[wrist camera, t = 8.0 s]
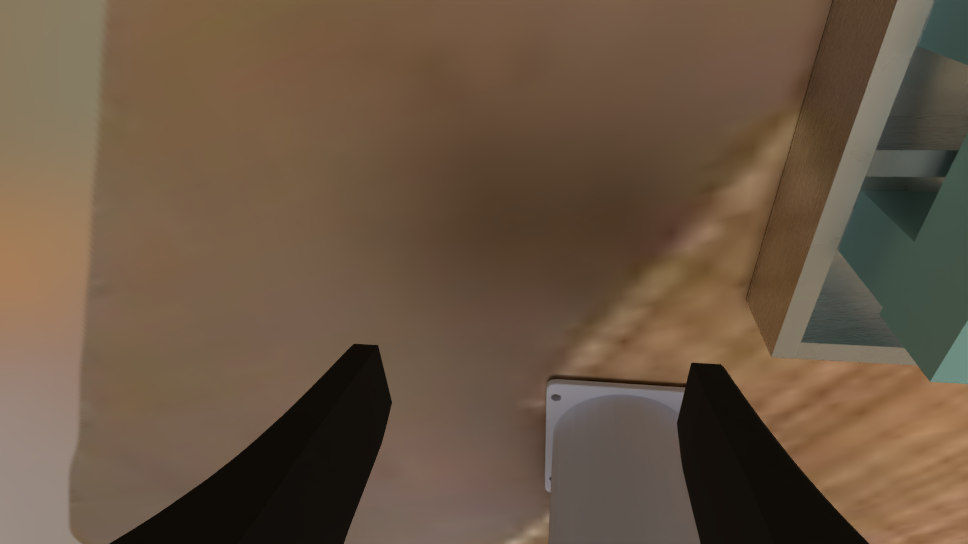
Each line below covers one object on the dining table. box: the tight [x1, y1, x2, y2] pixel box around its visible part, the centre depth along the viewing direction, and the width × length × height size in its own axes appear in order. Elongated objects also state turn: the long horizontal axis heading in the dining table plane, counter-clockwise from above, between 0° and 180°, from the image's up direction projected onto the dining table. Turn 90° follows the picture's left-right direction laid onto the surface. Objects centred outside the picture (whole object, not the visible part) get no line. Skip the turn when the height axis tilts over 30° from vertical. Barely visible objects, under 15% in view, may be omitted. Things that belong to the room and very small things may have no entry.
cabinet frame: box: [746, 0, 968, 365], centre depth 16 cm, size 15×8×4 cm, turn 3°
